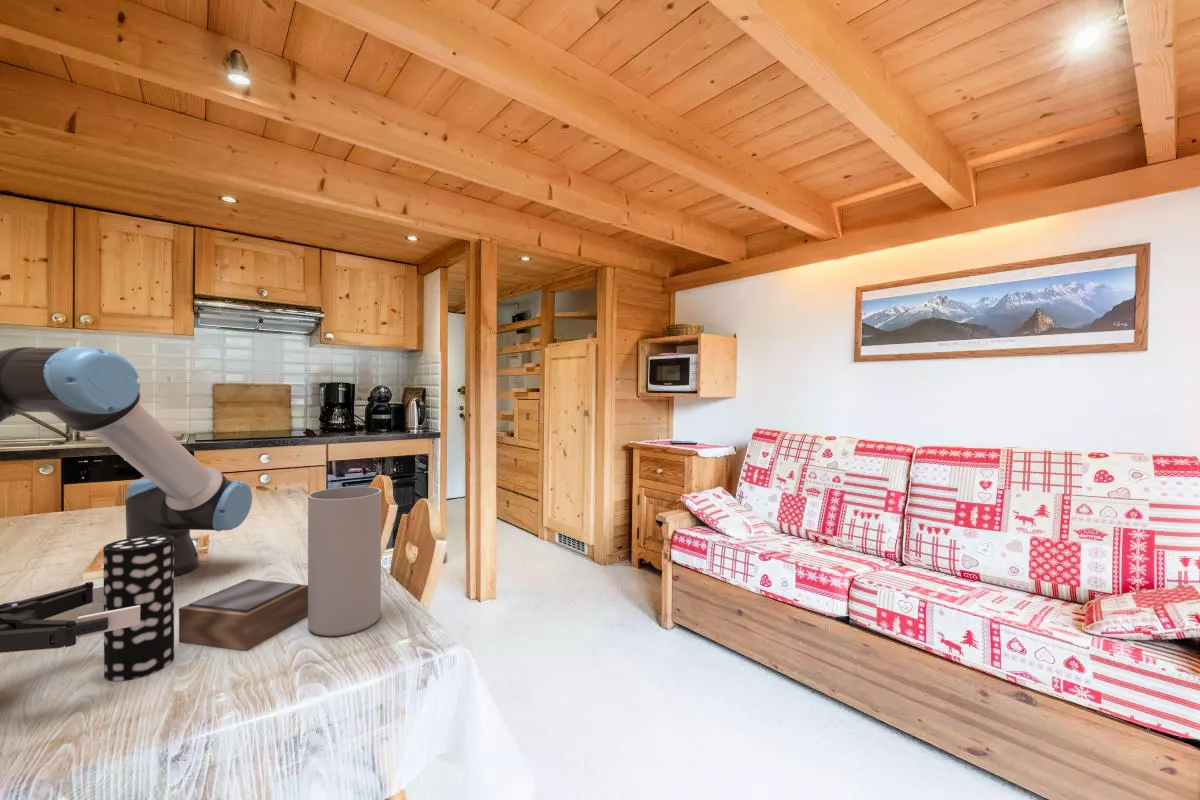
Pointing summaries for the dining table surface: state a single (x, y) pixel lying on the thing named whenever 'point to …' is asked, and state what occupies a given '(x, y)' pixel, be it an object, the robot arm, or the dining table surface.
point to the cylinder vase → (344, 560)
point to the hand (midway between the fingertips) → (144, 599)
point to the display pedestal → (243, 614)
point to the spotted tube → (148, 581)
